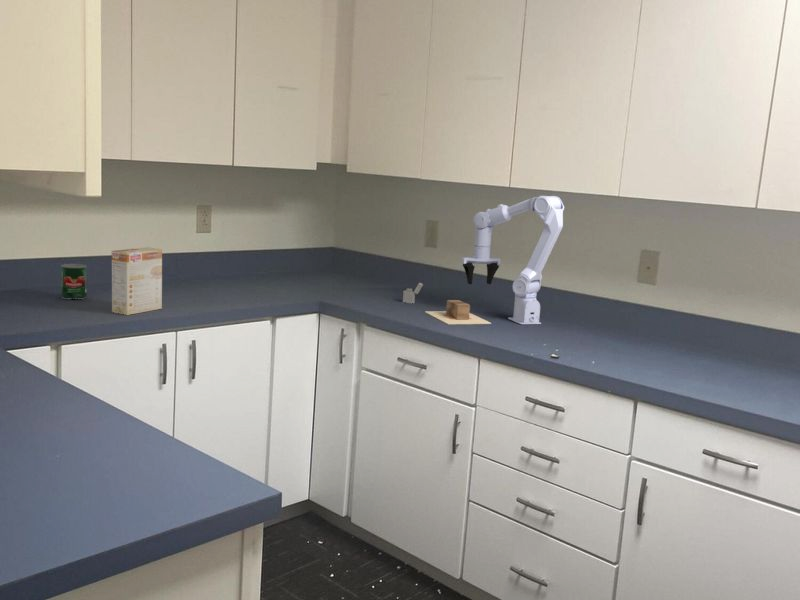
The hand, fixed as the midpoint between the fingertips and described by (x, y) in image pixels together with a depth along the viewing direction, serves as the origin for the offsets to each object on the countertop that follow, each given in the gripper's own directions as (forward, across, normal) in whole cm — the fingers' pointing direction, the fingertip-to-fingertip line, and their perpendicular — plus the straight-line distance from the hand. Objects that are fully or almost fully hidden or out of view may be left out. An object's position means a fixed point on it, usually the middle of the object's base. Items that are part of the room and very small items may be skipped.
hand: (479, 283), depth 287 cm
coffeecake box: (+11, +116, -8) cm, 117 cm away
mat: (+10, +12, +9) cm, 18 cm away
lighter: (+11, +18, -18) cm, 28 cm away
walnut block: (+10, +12, +9) cm, 18 cm away
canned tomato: (+11, +135, -30) cm, 139 cm away
